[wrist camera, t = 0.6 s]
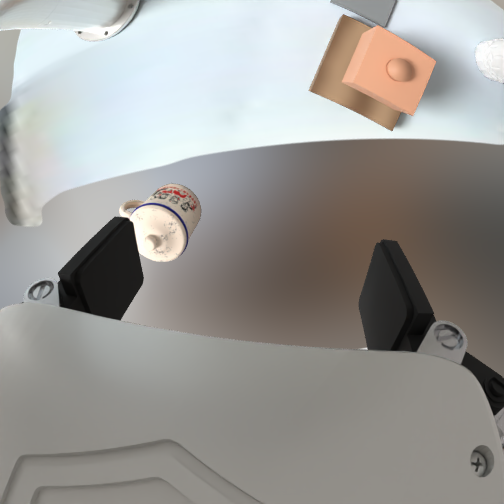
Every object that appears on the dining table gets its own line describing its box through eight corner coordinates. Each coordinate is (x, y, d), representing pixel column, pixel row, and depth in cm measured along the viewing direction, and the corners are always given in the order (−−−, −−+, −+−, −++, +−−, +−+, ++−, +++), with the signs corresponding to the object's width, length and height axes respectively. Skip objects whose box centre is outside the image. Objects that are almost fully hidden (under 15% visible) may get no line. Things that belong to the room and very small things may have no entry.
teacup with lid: (210, 192, 45) (188, 228, 35) (195, 239, 49) (173, 282, 40) (140, 168, 43) (103, 197, 33) (132, 216, 48) (98, 252, 38)
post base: (308, 90, 35) (317, 93, 26) (339, 18, 28) (357, -2, 19) (385, 127, 36) (415, 144, 27) (415, 59, 30) (453, 57, 20)
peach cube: (341, 82, 28) (355, 82, 22) (362, 33, 24) (380, 23, 19) (393, 109, 29) (416, 117, 23) (413, 62, 25) (440, 61, 19)
